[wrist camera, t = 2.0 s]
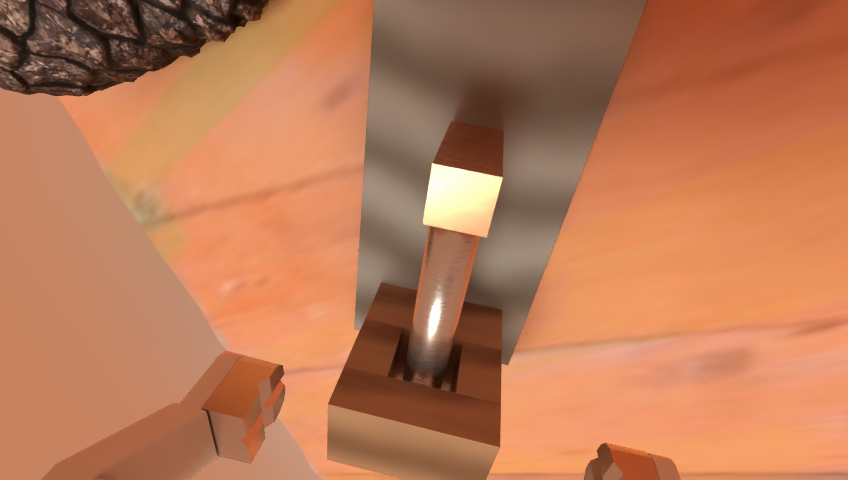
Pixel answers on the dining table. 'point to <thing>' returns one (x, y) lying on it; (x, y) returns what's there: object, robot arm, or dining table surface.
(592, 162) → the dining table surface
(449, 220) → the hook rod
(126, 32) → the pine cone
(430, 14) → the eye post
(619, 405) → the dining table surface
